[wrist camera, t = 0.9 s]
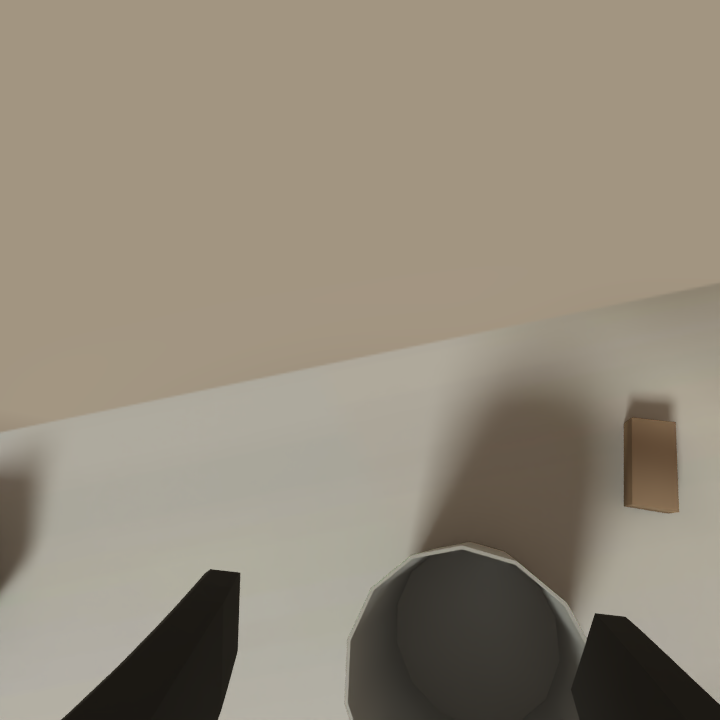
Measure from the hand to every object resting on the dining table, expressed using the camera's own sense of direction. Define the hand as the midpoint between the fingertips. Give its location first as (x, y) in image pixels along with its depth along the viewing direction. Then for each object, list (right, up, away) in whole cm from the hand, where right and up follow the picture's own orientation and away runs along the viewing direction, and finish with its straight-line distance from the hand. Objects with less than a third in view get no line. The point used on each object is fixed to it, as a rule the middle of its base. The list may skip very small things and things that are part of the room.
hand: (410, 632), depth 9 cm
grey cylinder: (+5, -9, +15) cm, 18 cm away
